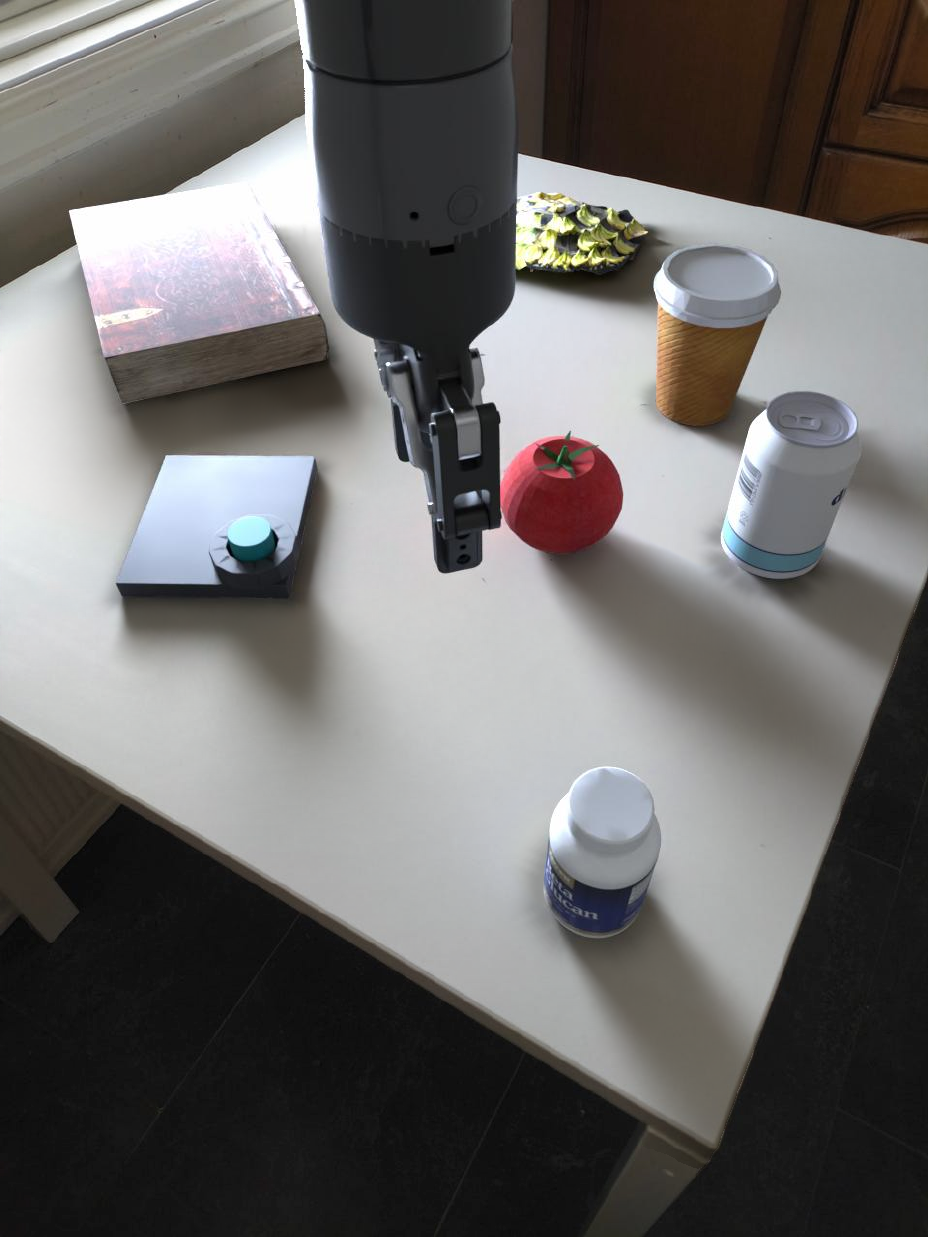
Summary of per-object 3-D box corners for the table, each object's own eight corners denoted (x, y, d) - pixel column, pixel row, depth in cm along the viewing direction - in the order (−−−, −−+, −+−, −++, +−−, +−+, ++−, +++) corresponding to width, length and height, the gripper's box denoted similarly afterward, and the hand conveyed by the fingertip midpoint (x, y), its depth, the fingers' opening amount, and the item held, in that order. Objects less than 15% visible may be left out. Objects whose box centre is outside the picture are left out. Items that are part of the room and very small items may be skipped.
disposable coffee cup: (755, 381, 79) (789, 249, 70) (743, 447, 73) (779, 312, 64) (647, 364, 81) (667, 233, 72) (627, 427, 75) (645, 293, 66)
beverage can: (815, 596, 62) (870, 460, 53) (713, 578, 64) (750, 442, 55) (817, 529, 67) (869, 393, 57) (722, 513, 68) (758, 378, 59)
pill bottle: (523, 904, 48) (529, 816, 41) (574, 829, 51) (588, 733, 44) (612, 962, 46) (635, 879, 39) (660, 880, 49) (690, 788, 42)
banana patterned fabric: (424, 271, 94) (420, 202, 91) (494, 245, 106) (493, 184, 103) (605, 282, 86) (608, 207, 82) (659, 253, 98) (663, 187, 95)
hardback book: (330, 358, 83) (322, 308, 79) (122, 407, 78) (104, 357, 75) (258, 222, 100) (249, 176, 97) (85, 257, 96) (69, 210, 92)
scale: (294, 604, 63) (287, 574, 61) (119, 601, 63) (105, 572, 61) (323, 469, 72) (318, 439, 70) (170, 468, 73) (160, 438, 71)
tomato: (544, 477, 71) (549, 392, 65) (640, 525, 67) (655, 439, 61) (474, 539, 67) (472, 454, 61) (572, 594, 63) (581, 508, 57)
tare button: (271, 562, 62) (266, 546, 61) (227, 562, 62) (222, 546, 61) (278, 532, 64) (274, 516, 63) (236, 532, 64) (232, 516, 63)
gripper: (289, 124, 37) (339, 437, 50) (353, 296, 28) (395, 626, 41) (463, 101, 39) (470, 413, 51) (577, 259, 30) (552, 591, 42)
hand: (436, 507), depth 46 cm, fingers open, 8 cm apart
